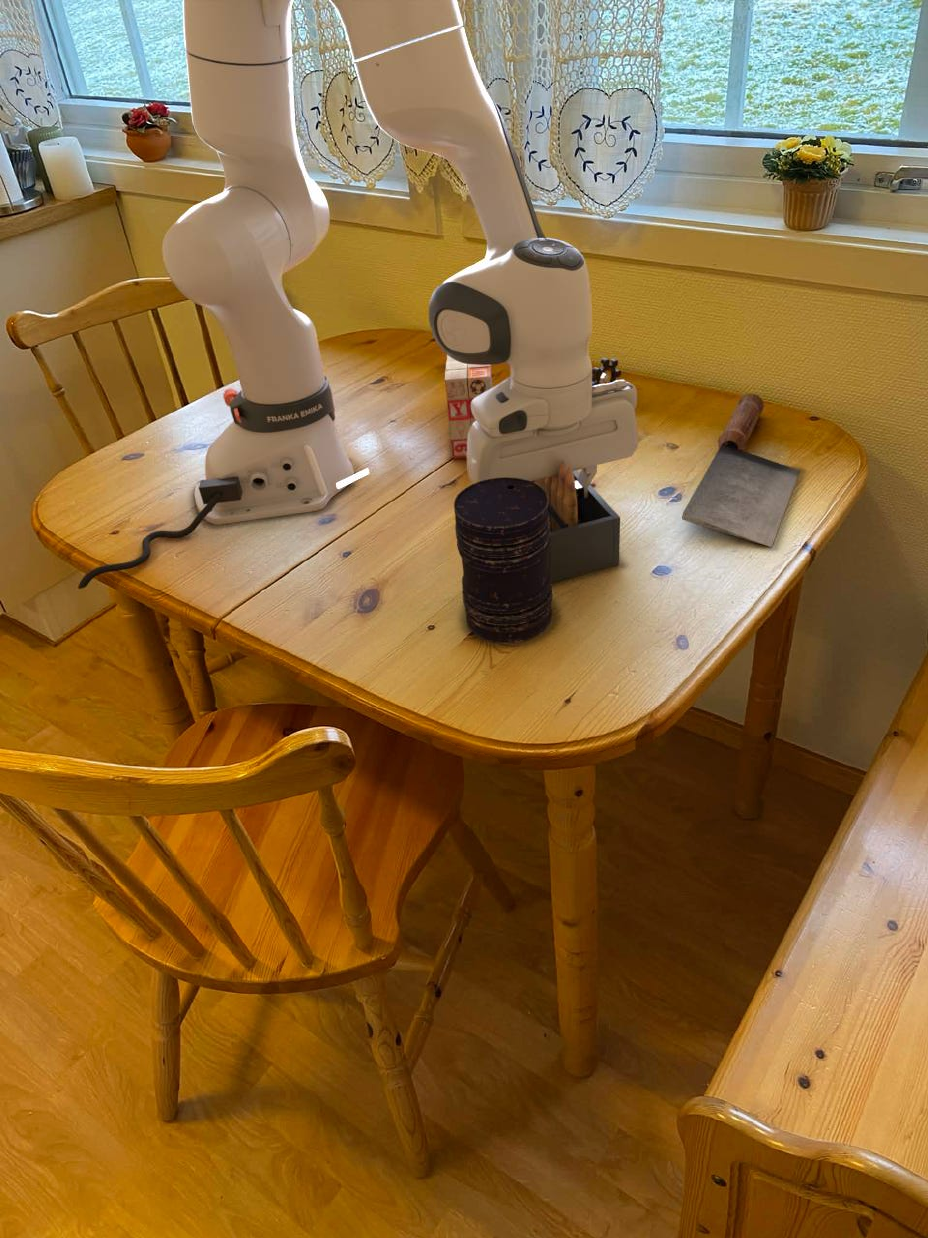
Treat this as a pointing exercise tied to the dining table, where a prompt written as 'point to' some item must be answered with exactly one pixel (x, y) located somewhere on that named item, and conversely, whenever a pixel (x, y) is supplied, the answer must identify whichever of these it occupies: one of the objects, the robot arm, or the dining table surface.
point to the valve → (601, 376)
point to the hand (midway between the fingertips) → (554, 503)
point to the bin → (585, 540)
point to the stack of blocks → (463, 399)
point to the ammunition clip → (561, 498)
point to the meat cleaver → (742, 484)
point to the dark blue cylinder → (505, 558)
